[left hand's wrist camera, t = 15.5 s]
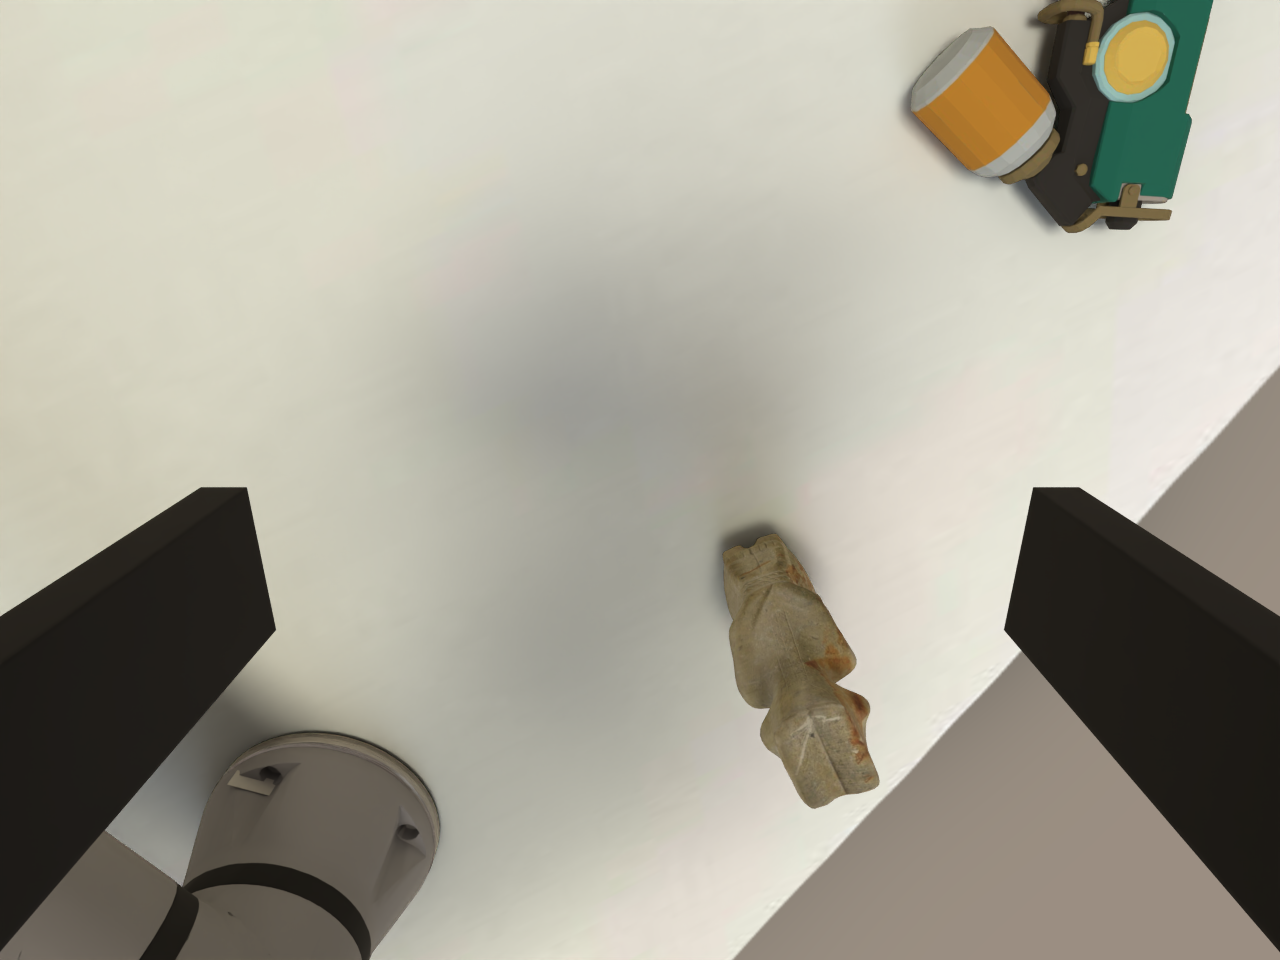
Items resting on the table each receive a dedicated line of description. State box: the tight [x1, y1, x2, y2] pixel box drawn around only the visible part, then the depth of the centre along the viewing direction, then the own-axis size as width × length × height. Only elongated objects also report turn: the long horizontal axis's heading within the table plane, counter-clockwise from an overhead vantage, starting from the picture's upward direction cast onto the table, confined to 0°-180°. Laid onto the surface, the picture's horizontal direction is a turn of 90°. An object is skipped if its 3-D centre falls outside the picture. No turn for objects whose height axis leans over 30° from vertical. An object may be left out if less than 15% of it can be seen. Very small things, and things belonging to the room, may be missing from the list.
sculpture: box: [723, 534, 879, 809], centre depth 37 cm, size 6×7×15 cm
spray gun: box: [911, 0, 1213, 233], centre depth 32 cm, size 4×17×15 cm
